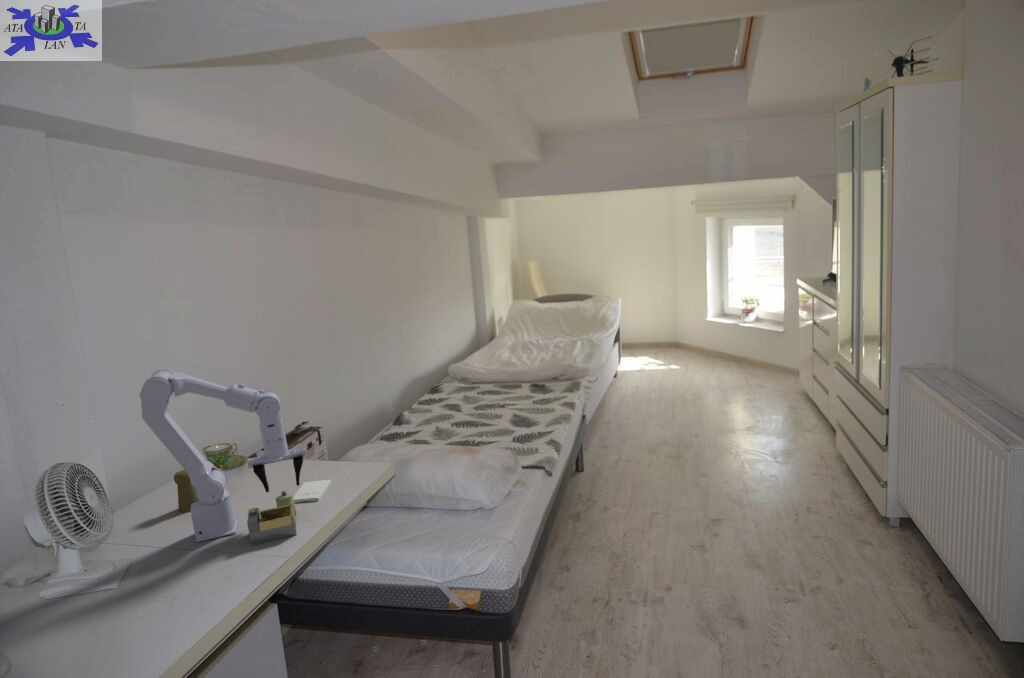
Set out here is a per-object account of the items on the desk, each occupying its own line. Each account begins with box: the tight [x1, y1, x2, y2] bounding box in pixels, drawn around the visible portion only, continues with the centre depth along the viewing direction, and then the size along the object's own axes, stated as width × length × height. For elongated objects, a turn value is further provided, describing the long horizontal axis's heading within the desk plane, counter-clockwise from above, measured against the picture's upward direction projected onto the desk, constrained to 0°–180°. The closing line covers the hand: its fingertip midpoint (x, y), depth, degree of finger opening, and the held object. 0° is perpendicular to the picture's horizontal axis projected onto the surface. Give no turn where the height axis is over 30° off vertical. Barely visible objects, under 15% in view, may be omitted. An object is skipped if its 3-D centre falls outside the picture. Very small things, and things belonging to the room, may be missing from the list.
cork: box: [173, 469, 199, 513], centre depth 185 cm, size 6×6×11 cm
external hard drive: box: [293, 479, 332, 504], centre depth 188 cm, size 2×8×12 cm
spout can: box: [275, 490, 297, 517], centre depth 173 cm, size 4×4×6 cm
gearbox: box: [246, 504, 297, 546], centre depth 163 cm, size 10×8×7 cm
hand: (282, 487), depth 172 cm, fingers open, 7 cm apart
